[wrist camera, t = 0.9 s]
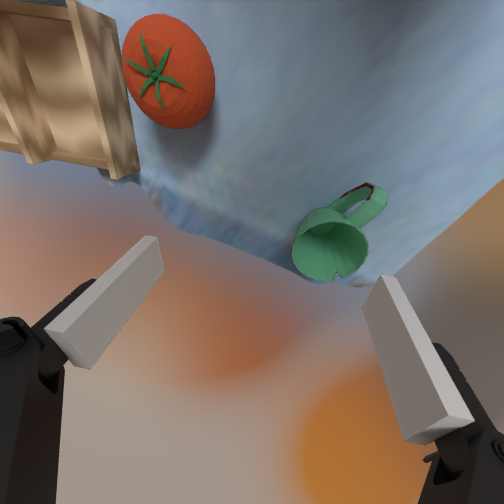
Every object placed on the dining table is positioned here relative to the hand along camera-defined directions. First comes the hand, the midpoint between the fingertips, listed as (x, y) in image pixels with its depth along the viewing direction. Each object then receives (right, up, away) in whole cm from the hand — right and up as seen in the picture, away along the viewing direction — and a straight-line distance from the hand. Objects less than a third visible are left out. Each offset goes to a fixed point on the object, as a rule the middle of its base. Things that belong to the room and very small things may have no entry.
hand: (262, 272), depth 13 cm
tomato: (-9, +24, +16) cm, 31 cm away
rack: (-32, +25, +19) cm, 45 cm away
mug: (+12, +8, +23) cm, 27 cm away
